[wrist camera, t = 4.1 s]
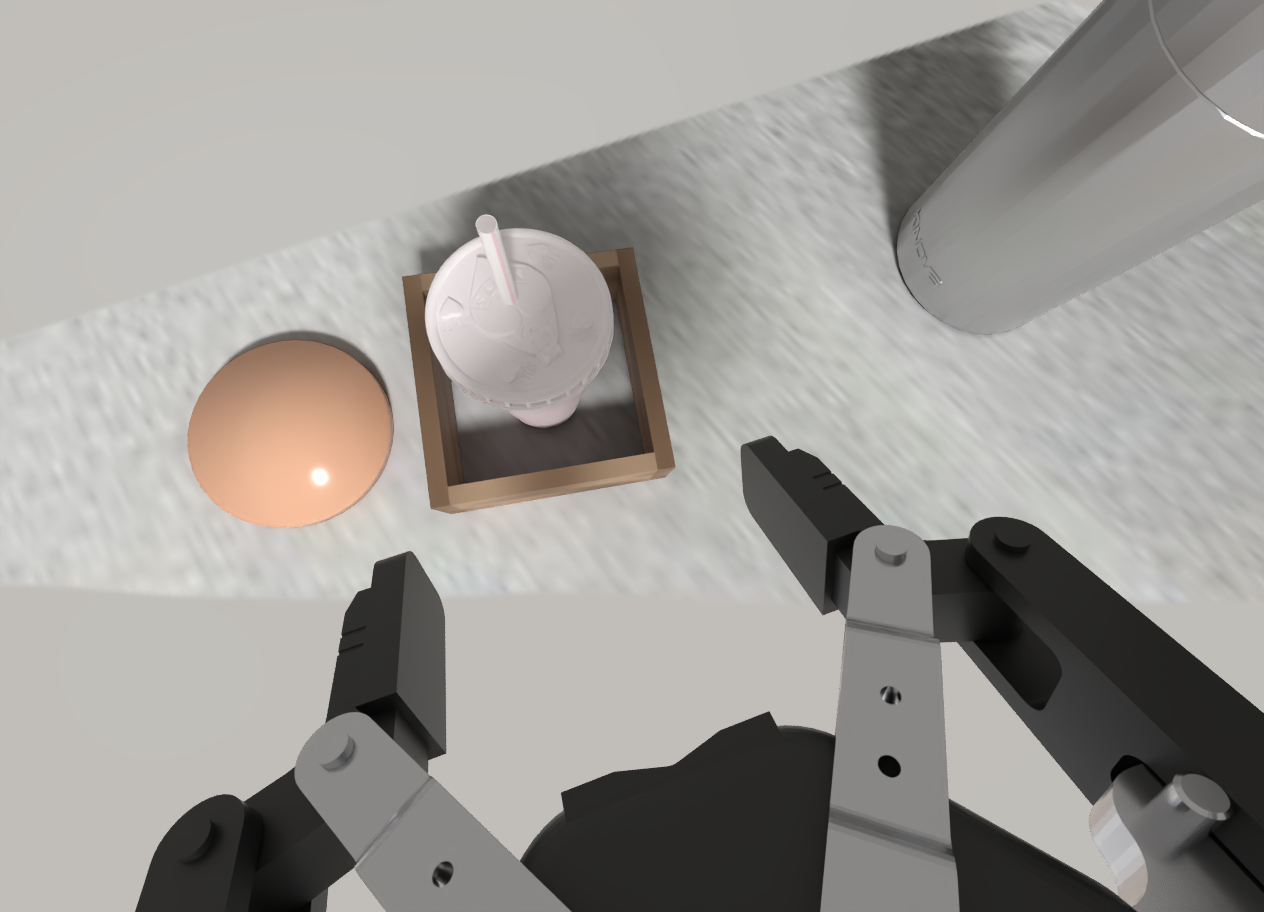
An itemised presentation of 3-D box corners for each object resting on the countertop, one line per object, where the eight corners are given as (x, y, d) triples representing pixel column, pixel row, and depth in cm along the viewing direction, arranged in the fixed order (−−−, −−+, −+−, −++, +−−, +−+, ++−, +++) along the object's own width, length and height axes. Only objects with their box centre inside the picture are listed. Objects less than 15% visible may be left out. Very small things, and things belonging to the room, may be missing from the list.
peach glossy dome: (383, 334, 28) (377, 328, 27) (403, 509, 26) (397, 508, 26) (194, 360, 27) (182, 354, 26) (205, 543, 26) (192, 543, 25)
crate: (627, 283, 29) (632, 247, 26) (664, 477, 28) (675, 466, 24) (425, 310, 28) (402, 276, 25) (451, 514, 27) (430, 508, 23)
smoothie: (557, 310, 29) (527, 90, 15) (632, 405, 28) (671, 267, 14) (454, 380, 28) (320, 212, 14) (529, 480, 27) (468, 408, 13)
